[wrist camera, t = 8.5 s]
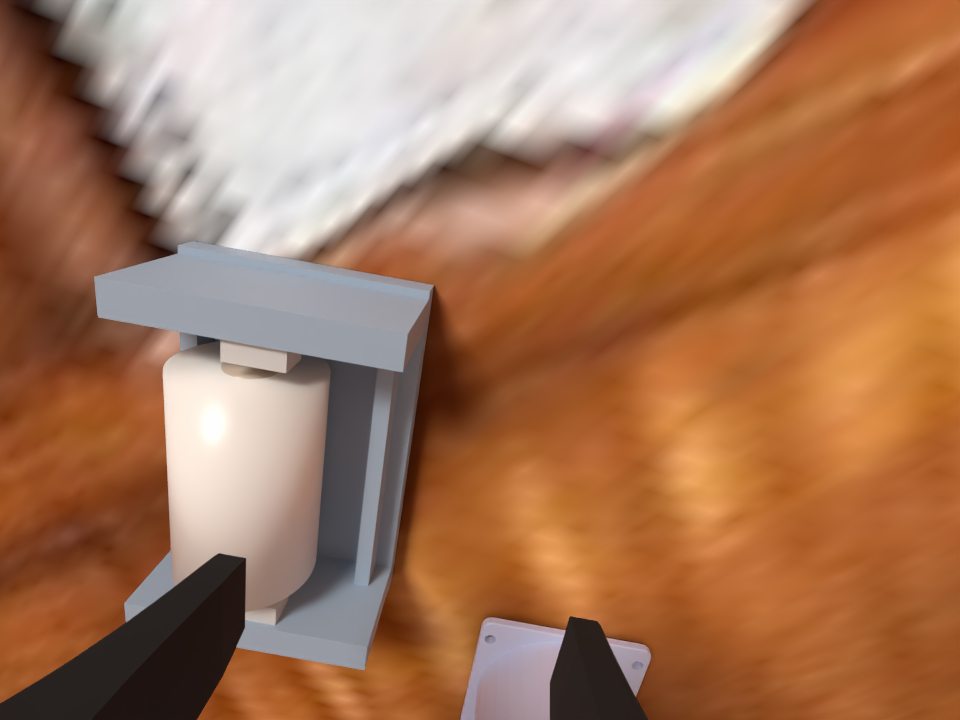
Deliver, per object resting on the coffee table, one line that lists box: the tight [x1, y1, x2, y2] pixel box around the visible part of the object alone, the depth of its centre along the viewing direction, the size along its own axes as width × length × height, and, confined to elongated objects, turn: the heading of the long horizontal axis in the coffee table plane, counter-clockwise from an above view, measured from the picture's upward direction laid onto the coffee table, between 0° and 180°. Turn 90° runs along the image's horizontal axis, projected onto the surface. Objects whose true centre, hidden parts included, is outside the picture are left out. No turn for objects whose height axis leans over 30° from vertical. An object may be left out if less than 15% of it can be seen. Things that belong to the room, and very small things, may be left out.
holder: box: [94, 241, 434, 670], centre depth 20 cm, size 14×9×5 cm, turn 170°
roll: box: [163, 341, 331, 612], centre depth 19 cm, size 8×5×5 cm, turn 170°
